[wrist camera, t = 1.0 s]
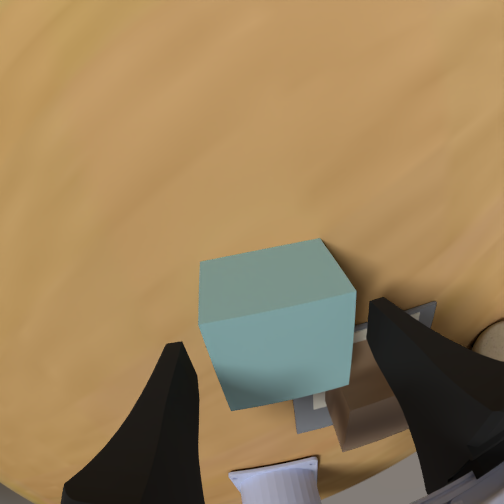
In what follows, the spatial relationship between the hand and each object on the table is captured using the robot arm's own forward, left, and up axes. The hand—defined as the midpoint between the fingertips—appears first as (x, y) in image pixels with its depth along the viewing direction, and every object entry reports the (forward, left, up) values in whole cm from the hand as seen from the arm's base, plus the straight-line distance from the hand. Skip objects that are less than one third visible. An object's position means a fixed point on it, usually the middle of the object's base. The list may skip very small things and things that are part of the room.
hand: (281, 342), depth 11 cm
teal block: (0, 0, -3) cm, 3 cm away
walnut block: (-7, -5, -3) cm, 9 cm away
